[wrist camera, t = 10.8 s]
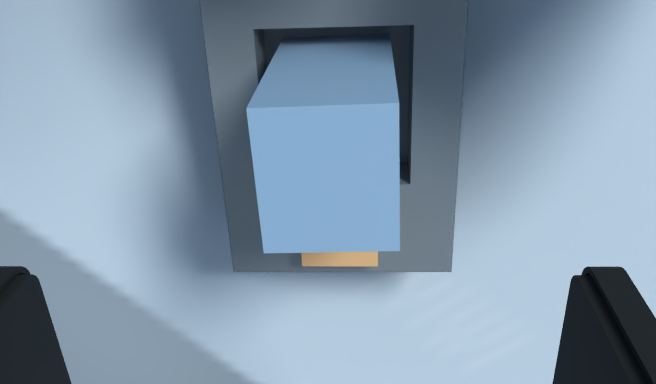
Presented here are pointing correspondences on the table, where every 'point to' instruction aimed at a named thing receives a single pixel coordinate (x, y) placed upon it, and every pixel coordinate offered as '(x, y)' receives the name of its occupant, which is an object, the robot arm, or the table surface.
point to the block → (327, 146)
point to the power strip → (414, 118)
